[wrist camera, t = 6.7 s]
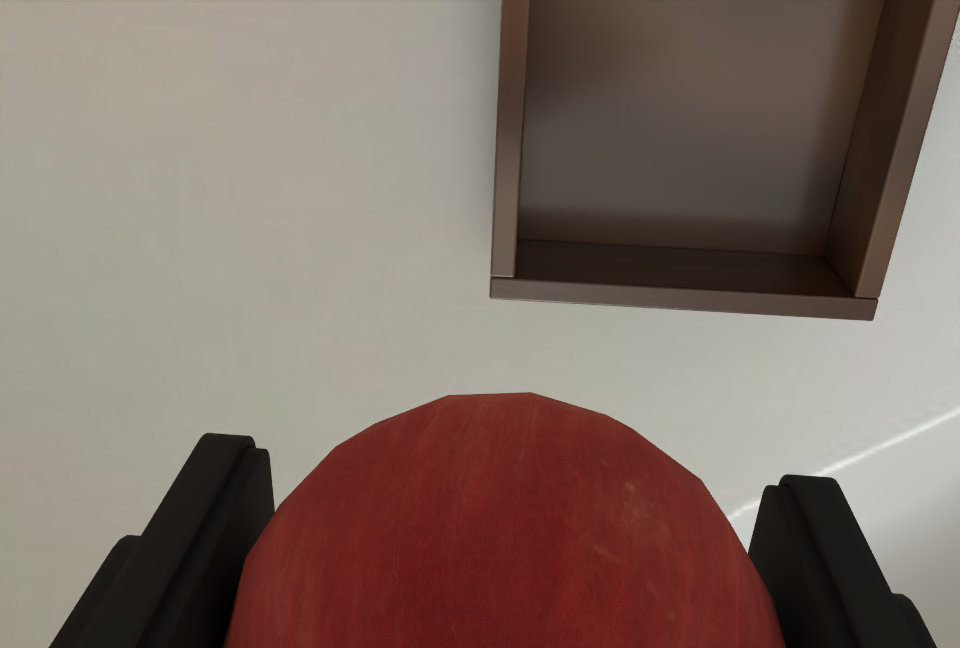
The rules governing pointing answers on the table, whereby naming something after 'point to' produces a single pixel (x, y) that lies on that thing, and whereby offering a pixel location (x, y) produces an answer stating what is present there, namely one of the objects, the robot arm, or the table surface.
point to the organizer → (710, 150)
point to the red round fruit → (500, 541)
